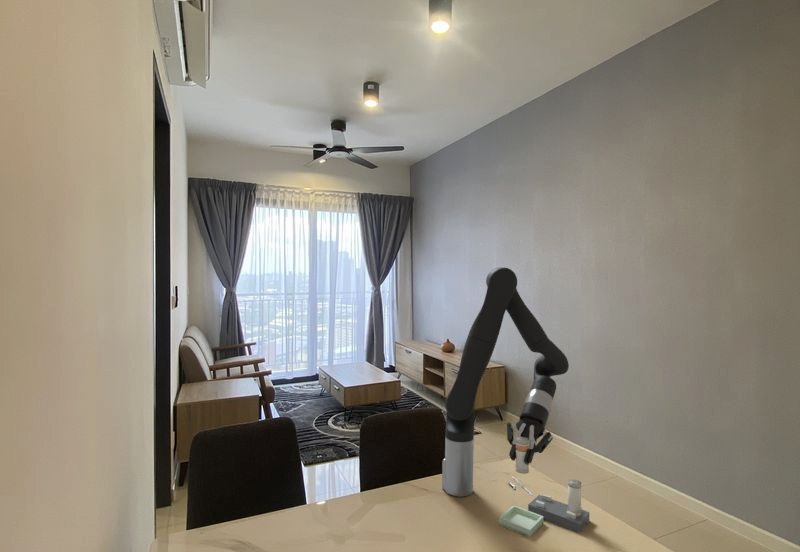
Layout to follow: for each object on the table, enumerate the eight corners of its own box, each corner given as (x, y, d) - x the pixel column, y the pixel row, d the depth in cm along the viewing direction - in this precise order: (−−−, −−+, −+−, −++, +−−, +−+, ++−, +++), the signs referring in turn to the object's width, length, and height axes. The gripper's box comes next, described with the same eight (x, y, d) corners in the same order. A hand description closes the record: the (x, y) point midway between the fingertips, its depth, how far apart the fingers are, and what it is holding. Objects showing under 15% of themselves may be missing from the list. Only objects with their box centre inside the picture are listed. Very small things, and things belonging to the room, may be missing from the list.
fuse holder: (528, 513, 127) (528, 500, 127) (538, 502, 133) (539, 490, 133) (580, 532, 117) (580, 519, 117) (589, 520, 123) (589, 507, 123)
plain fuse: (565, 514, 122) (565, 482, 122) (569, 509, 125) (570, 478, 125) (578, 518, 120) (578, 486, 120) (582, 513, 122) (583, 481, 123)
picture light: (533, 496, 138) (533, 490, 138) (521, 498, 137) (521, 491, 137) (512, 477, 151) (512, 471, 151) (501, 478, 150) (501, 472, 150)
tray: (498, 524, 120) (498, 517, 120) (513, 511, 127) (513, 505, 127) (530, 537, 114) (530, 530, 114) (543, 523, 121) (543, 516, 122)
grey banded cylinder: (513, 471, 121) (513, 439, 121) (518, 467, 124) (519, 435, 124) (525, 474, 119) (525, 442, 119) (530, 470, 121) (530, 438, 122)
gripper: (511, 397, 132) (491, 448, 122) (557, 405, 123) (539, 461, 113) (518, 410, 136) (500, 461, 126) (563, 420, 127) (547, 475, 117)
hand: (519, 460), depth 120 cm, fingers closed on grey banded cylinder, 3 cm apart
